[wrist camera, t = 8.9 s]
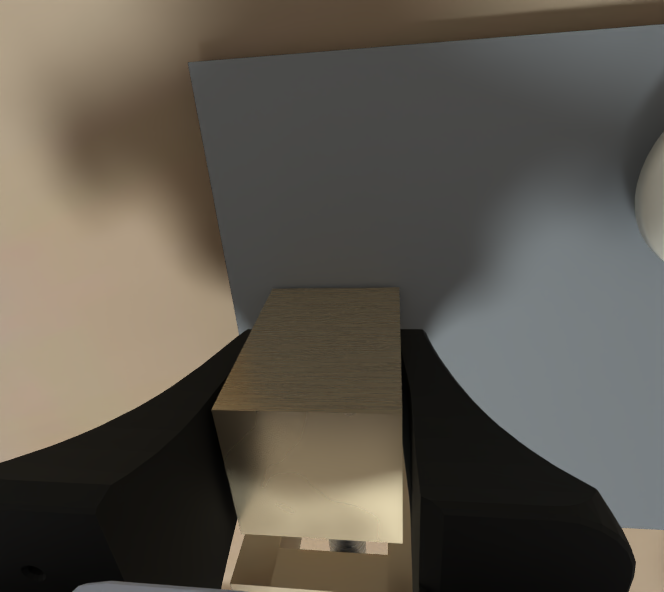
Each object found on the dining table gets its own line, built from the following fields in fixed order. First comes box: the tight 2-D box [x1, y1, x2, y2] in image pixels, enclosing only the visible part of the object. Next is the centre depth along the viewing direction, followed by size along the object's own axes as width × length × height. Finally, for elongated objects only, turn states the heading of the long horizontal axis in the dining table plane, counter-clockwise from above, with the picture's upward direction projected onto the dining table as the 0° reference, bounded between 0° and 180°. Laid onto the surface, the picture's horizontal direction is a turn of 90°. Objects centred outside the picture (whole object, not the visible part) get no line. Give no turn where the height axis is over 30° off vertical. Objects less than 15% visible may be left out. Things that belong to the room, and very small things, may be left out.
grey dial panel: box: [188, 24, 664, 592], centre depth 11 cm, size 15×15×6 cm
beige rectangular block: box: [211, 287, 403, 554], centre depth 13 cm, size 9×4×5 cm, turn 4°
